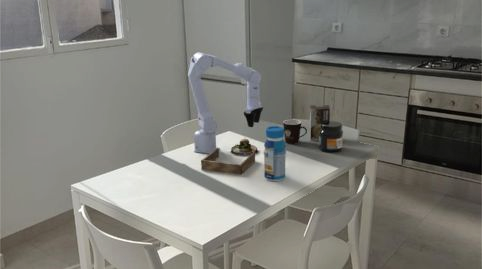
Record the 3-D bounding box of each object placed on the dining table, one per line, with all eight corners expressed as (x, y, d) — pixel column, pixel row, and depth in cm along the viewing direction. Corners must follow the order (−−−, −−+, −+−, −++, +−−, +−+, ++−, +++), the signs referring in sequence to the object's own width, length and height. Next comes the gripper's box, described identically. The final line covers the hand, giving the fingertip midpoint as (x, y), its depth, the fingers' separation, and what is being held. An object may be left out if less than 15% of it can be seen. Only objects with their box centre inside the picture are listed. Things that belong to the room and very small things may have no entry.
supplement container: (344, 153, 203) (345, 127, 199) (320, 153, 203) (321, 127, 199) (339, 145, 213) (341, 120, 209) (317, 145, 213) (317, 120, 209)
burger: (226, 154, 205) (225, 138, 203) (238, 146, 215) (238, 131, 213) (250, 158, 200) (250, 141, 198) (261, 149, 210) (261, 134, 207)
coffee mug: (279, 141, 220) (279, 121, 217) (294, 138, 224) (295, 118, 221) (292, 148, 210) (292, 127, 207) (308, 145, 214) (308, 124, 211)
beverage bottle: (284, 182, 174) (284, 132, 168) (262, 181, 175) (262, 131, 169) (286, 173, 182) (287, 125, 175) (265, 172, 183) (265, 124, 177)
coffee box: (328, 136, 225) (329, 104, 220) (329, 141, 219) (330, 108, 214) (309, 136, 226) (310, 104, 221) (309, 140, 220) (310, 108, 215)
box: (201, 169, 188) (201, 160, 187) (217, 156, 202) (217, 148, 200) (241, 174, 181) (241, 165, 180) (255, 161, 195) (255, 152, 194)
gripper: (256, 100, 202) (256, 129, 207) (266, 93, 215) (266, 121, 219) (241, 99, 205) (241, 128, 209) (252, 92, 218) (253, 119, 222)
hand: (253, 124), depth 214 cm, fingers open, 7 cm apart
